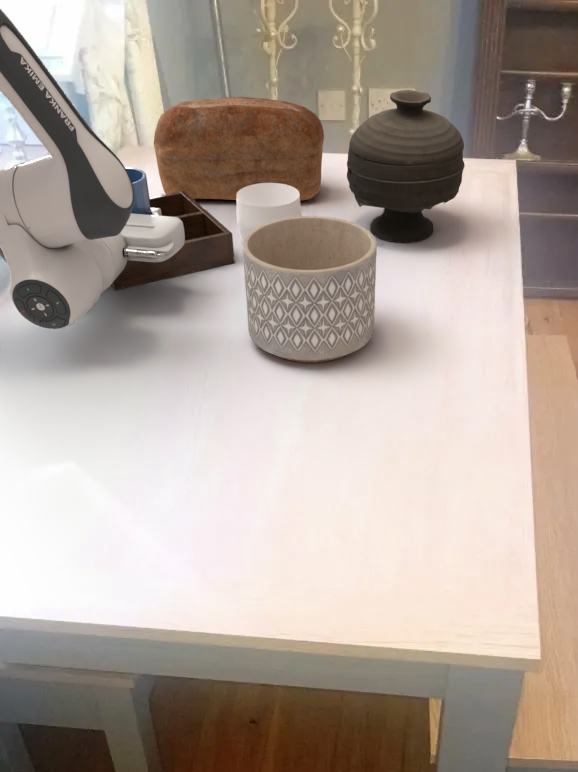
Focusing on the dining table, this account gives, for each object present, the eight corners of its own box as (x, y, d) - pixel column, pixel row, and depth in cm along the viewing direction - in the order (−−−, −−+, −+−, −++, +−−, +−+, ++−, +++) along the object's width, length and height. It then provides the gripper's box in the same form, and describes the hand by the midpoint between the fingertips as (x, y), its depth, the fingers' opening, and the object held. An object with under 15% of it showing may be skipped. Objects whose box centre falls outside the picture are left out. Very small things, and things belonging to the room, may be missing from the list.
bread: (323, 208, 150) (322, 114, 140) (156, 205, 150) (143, 112, 140) (326, 181, 158) (325, 91, 148) (168, 179, 159) (156, 89, 149)
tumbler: (119, 268, 128) (104, 189, 120) (103, 250, 132) (89, 172, 125) (164, 258, 130) (152, 179, 123) (147, 241, 135) (136, 164, 127)
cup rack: (114, 290, 128) (108, 259, 125) (75, 242, 140) (68, 212, 137) (234, 262, 135) (232, 233, 132) (187, 218, 146) (184, 190, 143)
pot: (468, 207, 148) (477, 74, 133) (450, 261, 137) (457, 124, 122) (363, 199, 152) (359, 69, 137) (337, 252, 141) (330, 117, 125)
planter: (399, 340, 118) (404, 245, 109) (303, 384, 110) (300, 285, 101) (318, 296, 127) (317, 205, 118) (224, 334, 119) (215, 239, 110)
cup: (276, 299, 126) (271, 212, 118) (228, 281, 130) (221, 197, 122) (315, 276, 132) (314, 192, 123) (268, 260, 135) (264, 177, 127)
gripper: (163, 233, 114) (196, 193, 124) (14, 221, 117) (57, 182, 127) (169, 281, 119) (201, 238, 129) (26, 268, 122) (67, 227, 131)
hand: (128, 210), depth 128 cm, fingers closed on tumbler, 7 cm apart
